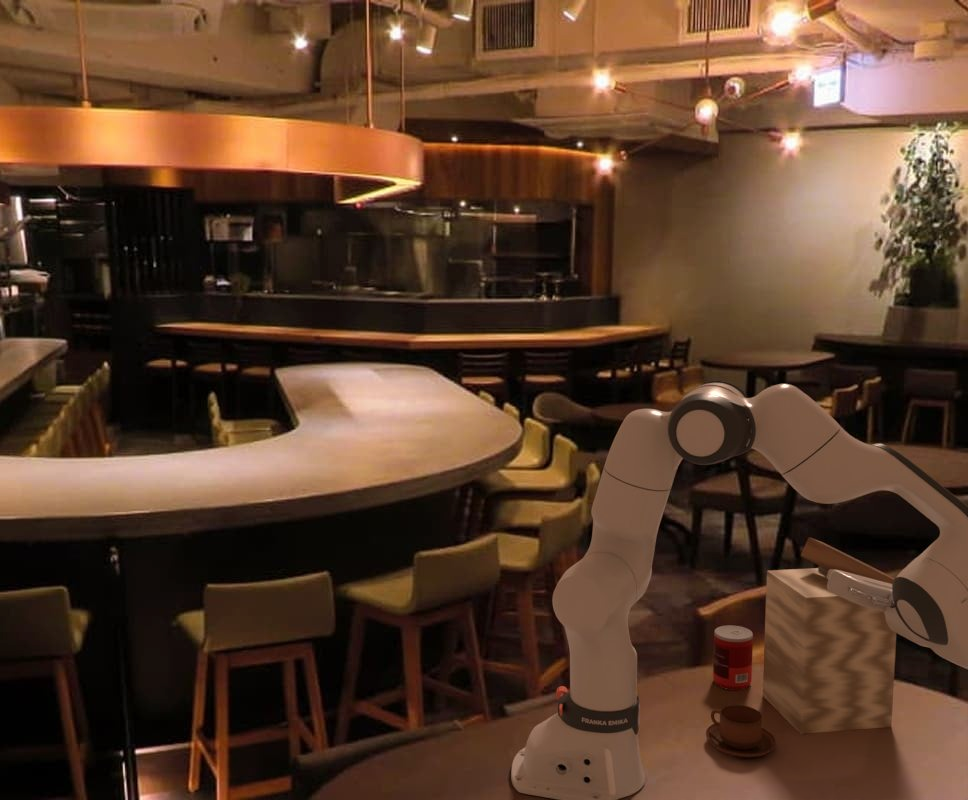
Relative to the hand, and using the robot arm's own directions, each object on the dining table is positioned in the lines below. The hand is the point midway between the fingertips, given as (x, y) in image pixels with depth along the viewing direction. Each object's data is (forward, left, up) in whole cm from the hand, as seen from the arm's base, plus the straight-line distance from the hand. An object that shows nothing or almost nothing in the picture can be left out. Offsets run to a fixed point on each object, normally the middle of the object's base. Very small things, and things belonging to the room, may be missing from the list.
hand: (851, 579), depth 155 cm
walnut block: (+5, +15, -6) cm, 17 cm away
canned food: (-14, +31, -33) cm, 48 cm away
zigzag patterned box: (+2, +20, -33) cm, 38 cm away
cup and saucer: (-17, +4, -33) cm, 37 cm away
